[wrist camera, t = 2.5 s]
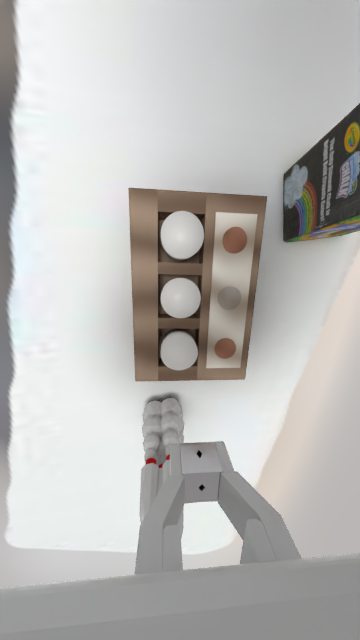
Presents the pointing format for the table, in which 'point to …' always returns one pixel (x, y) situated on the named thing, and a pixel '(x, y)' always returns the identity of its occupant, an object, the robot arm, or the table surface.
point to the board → (196, 281)
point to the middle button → (180, 298)
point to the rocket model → (159, 449)
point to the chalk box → (325, 185)
